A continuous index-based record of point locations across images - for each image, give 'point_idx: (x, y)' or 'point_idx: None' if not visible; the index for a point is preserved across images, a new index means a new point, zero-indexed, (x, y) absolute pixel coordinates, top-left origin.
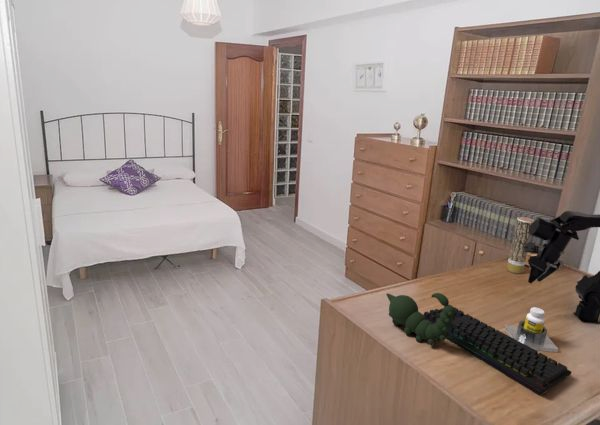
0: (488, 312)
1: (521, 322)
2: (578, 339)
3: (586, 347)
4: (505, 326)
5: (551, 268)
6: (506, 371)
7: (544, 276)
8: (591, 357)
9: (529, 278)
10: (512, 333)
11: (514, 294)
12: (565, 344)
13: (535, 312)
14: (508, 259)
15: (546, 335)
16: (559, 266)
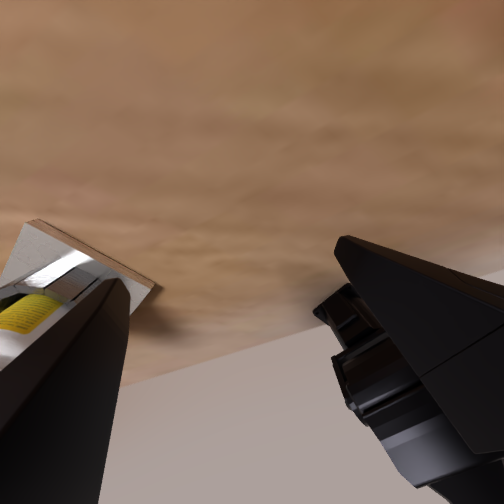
0: (58, 101)
1: (17, 290)
2: (216, 336)
3: (198, 353)
4: (25, 225)
5: (495, 420)
6: None
7: (374, 301)
8: (169, 369)
9: (67, 320)
10: (13, 264)
11: (357, 79)
12: (163, 333)
13: None
14: None
15: (131, 312)
16: None
